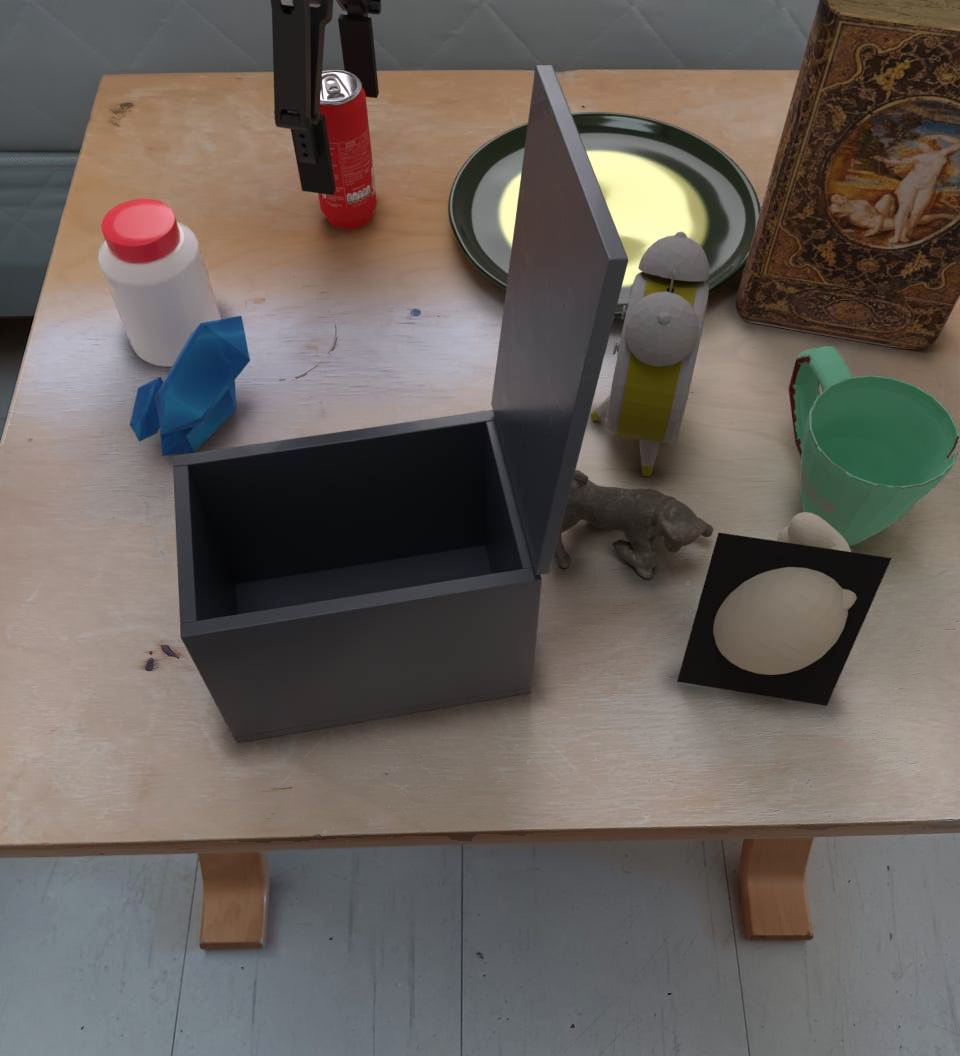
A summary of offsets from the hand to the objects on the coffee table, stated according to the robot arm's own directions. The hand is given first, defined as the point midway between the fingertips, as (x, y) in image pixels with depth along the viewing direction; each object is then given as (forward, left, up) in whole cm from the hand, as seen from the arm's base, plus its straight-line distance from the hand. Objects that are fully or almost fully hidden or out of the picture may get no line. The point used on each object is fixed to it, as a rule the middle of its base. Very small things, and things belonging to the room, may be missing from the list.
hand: (342, 140), depth 85 cm
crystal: (-4, -27, -7) cm, 28 cm away
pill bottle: (-10, -18, -7) cm, 22 cm away
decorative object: (+40, -38, -7) cm, 56 cm away
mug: (+44, -24, -7) cm, 51 cm away
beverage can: (0, 0, -7) cm, 7 cm away
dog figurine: (+30, -32, -7) cm, 44 cm away
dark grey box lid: (+24, -39, +17) cm, 49 cm away
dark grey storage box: (+14, -43, -7) cm, 46 cm away
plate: (+23, +3, -7) cm, 24 cm away
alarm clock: (+29, -20, -7) cm, 36 cm away
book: (+44, -4, -7) cm, 45 cm away
